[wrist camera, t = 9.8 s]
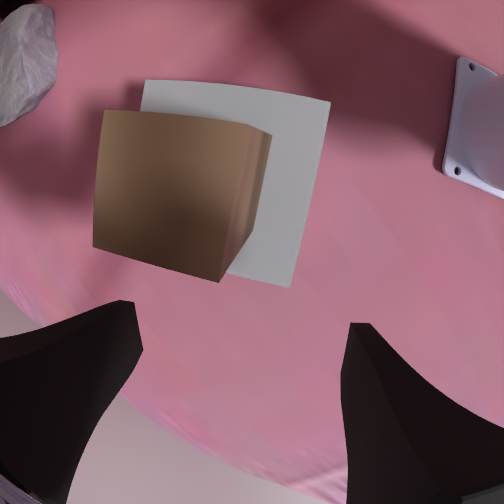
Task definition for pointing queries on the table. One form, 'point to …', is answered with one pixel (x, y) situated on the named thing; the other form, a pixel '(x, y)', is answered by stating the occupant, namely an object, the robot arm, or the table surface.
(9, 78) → the stone block
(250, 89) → the plinth
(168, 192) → the walnut block
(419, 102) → the table surface
